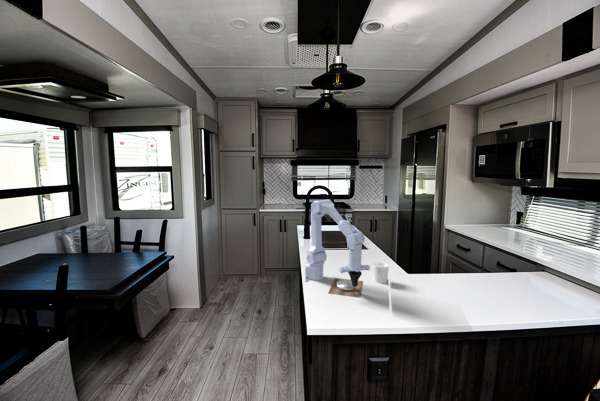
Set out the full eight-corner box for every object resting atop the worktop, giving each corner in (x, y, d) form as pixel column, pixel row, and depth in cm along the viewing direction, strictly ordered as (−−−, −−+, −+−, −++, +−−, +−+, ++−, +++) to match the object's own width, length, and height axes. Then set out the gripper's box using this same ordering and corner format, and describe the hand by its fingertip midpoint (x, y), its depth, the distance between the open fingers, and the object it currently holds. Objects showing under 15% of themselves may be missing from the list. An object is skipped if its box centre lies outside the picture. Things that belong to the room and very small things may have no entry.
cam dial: (332, 285, 139) (332, 274, 138) (347, 280, 144) (348, 271, 143) (351, 296, 126) (351, 285, 126) (367, 292, 131) (368, 281, 131)
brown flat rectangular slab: (328, 295, 130) (328, 292, 130) (334, 280, 149) (334, 276, 148) (360, 300, 126) (360, 296, 126) (363, 283, 144) (363, 280, 144)
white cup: (370, 284, 144) (371, 265, 142) (374, 278, 150) (374, 261, 149) (386, 287, 140) (387, 268, 139) (389, 281, 147) (389, 263, 146)
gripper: (344, 262, 121) (343, 291, 123) (373, 259, 125) (372, 287, 127) (337, 257, 128) (337, 284, 130) (365, 254, 132) (364, 281, 133)
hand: (354, 285), depth 129 cm, fingers closed
